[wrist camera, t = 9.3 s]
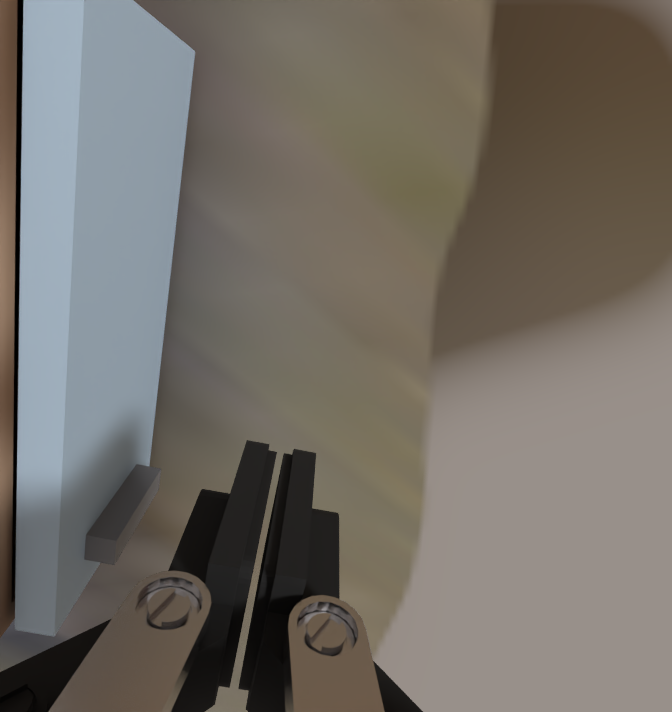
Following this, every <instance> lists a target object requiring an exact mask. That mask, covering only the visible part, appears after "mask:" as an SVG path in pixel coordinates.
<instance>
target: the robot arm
mask: <svg viewBox="0 0 672 712" xmlns="http://www.w3.org/2000/svg"><path fill="white" fill-rule="evenodd" d="M268 449H269V444H264V443H259V442H254V441H248V440H247V442H246V445H245V448H244V451H243V455H242V458H241V461H240V464H239V467H238V470H237V474H236V477H235V480H234V483H233V486H232V490H231V493H230V494H228V493H222V492H217V491H211V490H205V489H202V490H201V492H200V494H199V496H198V499H197V501H196V504H195V506H194V508H193V511H192V513H191V516H190V518H189V521H188V523H187V526H186V528H185V531H184V533H183V536H182V538H181V541H180V543H179V546H178V548H177V551H176V553H175V556H174V558H173V561H172V563H171V566H170V568H169V570H168V571H163V572H159V573H156V574H153V575H150V576H148V577H146V578H145V579H143V580H142V581H140V582H139V583H138V584H137V585H136V586H135V587H134V588H133V589H132V590H131V591H130V593H129V594H128V596H127V597H126V599H125V600H124V602H123V603H122V605H121V606H120V608H119V609H118V611H117V612H116V613H115V615H114V616H113V618H112V619H110V620H108V621H106V622H104V623H102V624H100V625H98V626H96V627H94V628H92V629H89V630H87V631H85V632H83V633H81V634H79V635H77V636H75V637H73V638H71V639H69V640H67V641H64V642H62V643H60V644H58V645H56V646H54V647H52V648H50V649H48V650H46V651H44V652H41V653H39V654H37V655H35V656H33V657H31V658H29V659H27V660H25V661H23V662H21V663H18V664H16V665H14V666H12V667H10V668H8V669H6V670H4V671H2V672H0V712H205V711H206V710H208V709H209V708H211V707H212V706H213V705H215V701H216V696H217V692H218V687H219V686H222V687H230V683H231V678H232V673H233V668H234V663H235V658H236V653H237V648H238V643H239V638H240V633H241V628H242V623H243V618H244V613H245V608H246V603H247V598H248V593H249V588H250V583H251V578H252V573H253V569H254V564H255V559H256V554H257V549H258V544H259V539H260V534H261V529H262V524H263V519H264V514H265V509H266V504H267V499H268V494H269V489H270V484H271V479H272V474H273V469H274V464H275V459H276V454H277V452H274V451H269V450H268ZM315 460H316V453H313V452H307V451H302V450H297V449H294V450H293V454H292V455H290V454H285V453H284V456H283V460H282V465H281V470H280V475H279V480H278V485H277V489H276V494H275V499H274V504H273V509H272V514H271V519H270V523H269V528H268V533H267V538H266V543H265V548H264V553H263V558H262V564H261V569H260V575H259V580H258V585H257V591H256V596H255V602H254V607H253V612H252V618H251V623H250V629H249V634H248V639H247V645H246V650H245V656H244V661H243V667H242V672H241V677H240V683H239V689H242V690H249V693H248V699H247V705H246V710H247V711H248V712H423V711H421V709H420V708H419V707H418V706H417V705H416V704H415V703H414V702H412V700H411V699H410V698H409V697H408V696H407V695H406V694H405V693H404V692H403V691H402V690H401V689H400V688H399V687H398V686H397V685H396V684H395V683H394V682H393V681H392V680H391V679H390V678H389V677H388V676H387V675H386V673H385V672H384V671H383V670H382V669H381V668H380V667H379V666H378V665H377V664H376V663H375V662H374V661H373V658H372V653H371V649H370V644H369V640H368V635H367V631H366V627H365V625H364V622H363V620H362V618H361V616H360V615H359V614H358V613H357V611H356V610H355V609H354V608H353V607H351V606H350V605H349V604H348V603H346V602H345V601H342V600H340V599H339V514H338V513H335V512H329V511H323V510H318V509H312V501H313V487H314V474H315Z"/></svg>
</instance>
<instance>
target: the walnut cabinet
mask: <svg viewBox="0 0 672 712" xmlns="http://www.w3.org/2000/svg"><path fill="white" fill-rule="evenodd" d="M23 7H24V0H0V638H1V636H2V635H3V633H4V632H5V631H6V629H7V628H8V627H9V625H10V624H11V623H12V621H13V620H14V619H15V584H16V512H17V440H18V368H19V295H20V223H21V151H22V79H23Z"/></svg>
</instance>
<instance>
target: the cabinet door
mask: <svg viewBox="0 0 672 712" xmlns="http://www.w3.org/2000/svg"><path fill="white" fill-rule="evenodd" d="M194 57H195V51H194V50H193V49H192V48H190V47H189V46H188V45H187V44H186V43H184V42H183V41H182V40H181V39H179V38H178V37H177V36H176V35H175V34H173V33H172V32H171V31H170V30H168V29H167V28H166V27H165V26H164V25H162V24H161V23H160V22H159V21H158V20H156V19H155V18H154V17H153V16H151V15H150V14H149V13H148V12H147V11H145V10H144V9H143V8H142V7H141V6H139V5H138V4H137V3H136V2H134V1H133V0H24V7H23V79H22V151H21V223H20V295H19V368H18V440H17V512H16V584H15V630H19V631H25V632H31V633H37V634H43V635H49V636H55V635H56V633H57V631H58V630H59V628H60V627H61V625H62V623H63V622H64V620H65V619H66V617H67V615H68V614H69V612H70V611H71V609H72V607H73V606H74V604H75V603H76V601H77V599H78V598H79V596H80V595H81V593H82V591H83V590H84V588H85V587H86V585H87V583H88V582H89V580H90V579H91V577H92V575H93V574H94V572H95V571H96V569H97V567H98V566H99V564H100V563H106V564H112V565H115V563H116V561H117V560H118V558H119V556H120V555H121V553H122V551H123V549H124V548H125V546H126V544H127V543H128V541H129V539H130V537H131V536H132V534H133V532H134V531H135V529H136V527H137V525H138V524H139V522H140V520H141V519H142V517H143V515H144V514H145V512H146V510H147V508H148V507H149V505H150V503H151V502H152V500H153V498H154V496H155V495H156V493H157V491H158V490H159V482H160V474H161V469H159V468H154V467H149V464H150V455H151V446H152V437H153V428H154V419H155V410H156V401H157V392H158V383H159V374H160V365H161V356H162V347H163V338H164V329H165V319H166V310H167V301H168V292H169V283H170V274H171V265H172V256H173V247H174V238H175V229H176V220H177V211H178V202H179V193H180V184H181V175H182V166H183V157H184V148H185V139H186V130H187V120H188V111H189V102H190V93H191V84H192V75H193V66H194Z"/></svg>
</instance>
